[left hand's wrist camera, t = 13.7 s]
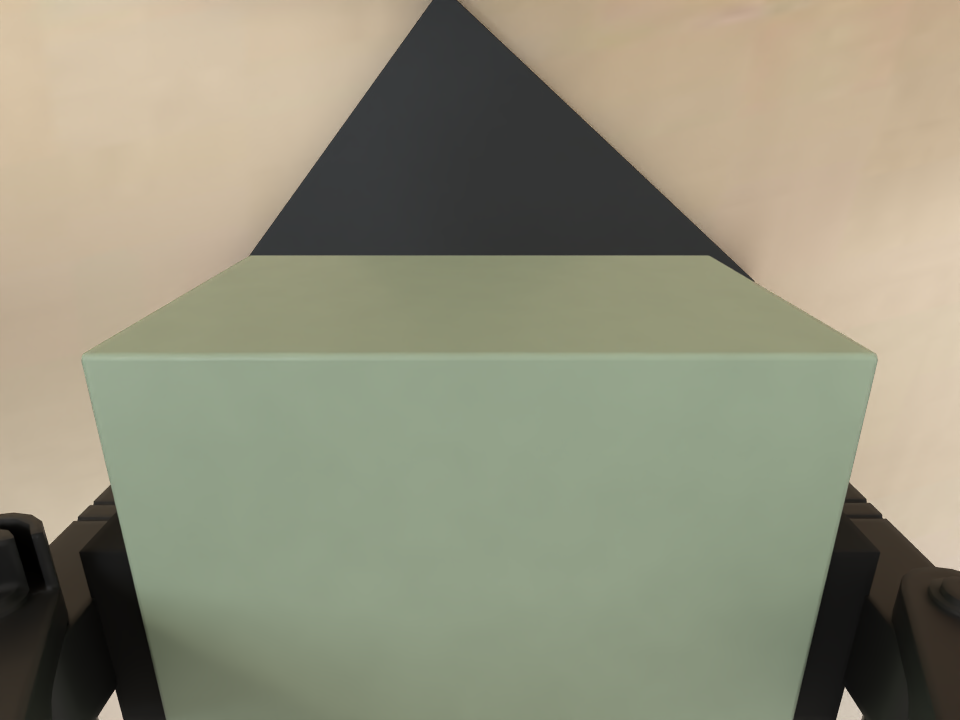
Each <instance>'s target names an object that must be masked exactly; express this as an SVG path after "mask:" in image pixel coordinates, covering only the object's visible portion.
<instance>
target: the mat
mask: <svg viewBox="0 0 960 720" xmlns="http://www.w3.org/2000/svg"><path fill="white" fill-rule="evenodd" d="M250 256H710V257H712V258H714V259H716V260H717V261H719V262H721V263H723V264H724V265H726V266H728V267H729V268H731V269H733V270H734V271H736V272H738V273H740V274H741V275H743V276H745V277H746V278H748V279H750V280H751V281H753V282H754V280H753V279H752V278H751V277H750V276H749V275H747V274H746V273H745V272H744V271H743V270H742V269H741V268H740V267H739V266H738V265H737V264H736V263H735V262H734V261H733V260H732V259H731V258H729V257H728V256H727V255H726V254H725V253H724V252H723V251H722V250H721V249H720V248H719V247H718V246H717V245H716V244H715V243H714V242H713V241H711V240H710V239H709V238H708V237H707V236H706V235H705V234H704V233H703V232H702V231H701V230H700V229H699V228H698V227H697V226H696V225H694V224H693V223H692V222H691V221H690V220H689V219H688V218H687V217H686V216H685V215H684V214H683V213H682V212H681V211H680V210H679V209H678V208H676V207H675V206H674V205H673V204H672V203H671V202H670V201H669V200H668V199H667V198H666V197H665V196H664V195H663V194H662V193H661V192H660V191H658V190H657V189H656V188H655V187H654V186H653V185H652V184H651V183H650V182H649V181H648V180H647V179H646V178H645V177H644V176H643V175H641V174H640V173H639V172H638V171H637V170H636V169H635V168H634V167H633V166H632V165H631V164H630V163H629V162H628V161H627V160H626V159H625V158H623V157H622V156H621V155H620V154H619V153H618V152H617V151H616V150H615V149H614V148H613V147H612V146H611V145H610V144H609V143H608V142H606V141H605V140H604V139H603V138H602V137H601V136H600V135H599V134H598V133H597V132H596V131H595V130H594V129H593V128H592V127H591V126H590V125H588V124H587V123H586V122H585V121H584V120H583V119H582V118H581V117H580V116H579V115H578V114H577V113H576V112H575V111H574V110H573V109H572V108H570V107H569V106H568V105H567V104H566V103H565V102H564V101H563V100H562V99H561V98H560V97H559V96H558V95H557V94H556V93H555V92H553V91H552V90H551V89H550V88H549V87H548V86H547V85H546V84H545V83H544V82H543V81H542V80H541V79H540V78H539V77H538V76H537V75H535V74H534V73H533V72H532V71H531V70H530V69H529V68H528V67H527V66H526V65H525V64H524V63H523V62H522V61H521V60H520V59H519V58H517V57H516V56H515V55H514V54H513V53H512V52H511V51H510V50H509V49H508V48H507V47H506V46H505V45H504V44H503V43H502V42H500V41H499V40H498V39H497V38H496V37H495V36H494V35H493V34H492V33H491V32H490V31H489V30H488V29H487V28H486V27H485V26H484V25H482V24H481V23H480V22H479V21H478V20H477V19H476V18H475V17H474V16H473V15H472V14H471V13H470V12H469V11H468V10H467V9H466V8H464V7H463V6H462V5H461V4H460V3H459V2H458V1H457V0H433V1H432V2H431V3H430V5H429V6H428V7H427V9H426V10H425V12H424V13H423V14H422V16H421V17H420V19H419V20H418V21H417V23H416V24H415V26H414V27H413V28H412V30H411V31H410V33H409V34H408V35H407V37H406V38H405V40H404V41H403V42H402V44H401V45H400V47H399V48H398V49H397V51H396V52H395V53H394V55H393V56H392V58H391V59H390V60H389V62H388V63H387V65H386V66H385V67H384V69H383V70H382V72H381V73H380V74H379V76H378V77H377V79H376V80H375V81H374V83H373V84H372V86H371V87H370V88H369V90H368V91H367V93H366V94H365V95H364V97H363V98H362V99H361V101H360V102H359V104H358V105H357V106H356V108H355V109H354V111H353V112H352V113H351V115H350V116H349V118H348V119H347V120H346V122H345V123H344V125H343V126H342V127H341V129H340V130H339V132H338V133H337V134H336V136H335V137H334V139H333V140H332V141H331V143H330V144H329V145H328V147H327V148H326V150H325V151H324V152H323V154H322V155H321V157H320V158H319V159H318V161H317V162H316V164H315V165H314V166H313V168H312V169H311V171H310V172H309V173H308V175H307V176H306V178H305V179H304V180H303V182H302V183H301V184H300V186H299V187H298V189H297V190H296V191H295V193H294V194H293V196H292V197H291V198H290V200H289V201H288V203H287V204H286V205H285V207H284V208H283V210H282V211H281V212H280V214H279V215H278V217H277V218H276V219H275V221H274V222H273V224H272V225H271V226H270V228H269V229H268V230H267V232H266V233H265V235H264V236H263V237H262V239H261V240H260V242H259V243H258V244H257V246H256V247H255V249H254V250H253V251H252V253H251V254H250Z"/></svg>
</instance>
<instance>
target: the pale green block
mask: <svg viewBox="0 0 960 720" xmlns="http://www.w3.org/2000/svg"><path fill="white" fill-rule="evenodd" d="M877 361H878V360H877V355H876V354H875V353H874V352H872V351H870V350H869V349H867V348H865V347H864V346H862V345H860V344H858V343H857V342H855V341H853V340H852V339H850V338H848V337H847V336H845V335H843V334H841V333H840V332H838V331H836V330H835V329H833V328H831V327H830V326H828V325H826V324H824V323H823V322H821V321H819V320H818V319H816V318H814V317H813V316H811V315H809V314H808V313H806V312H804V311H802V310H801V309H799V308H797V307H796V306H794V305H792V304H791V303H789V302H787V301H785V300H784V299H782V298H780V297H779V296H777V295H775V294H774V293H772V292H770V291H768V290H767V289H765V288H763V287H762V286H760V285H758V284H757V283H755V282H753V281H751V280H750V279H748V278H746V277H745V276H743V275H741V274H740V273H738V272H736V271H734V270H733V269H731V268H729V267H728V266H726V265H724V264H723V263H721V262H719V261H717V260H716V259H714V258H712V257H710V256H249V257H247V258H245V259H243V260H242V261H240V262H238V263H237V264H235V265H233V266H231V267H230V268H228V269H226V270H225V271H223V272H221V273H220V274H218V275H216V276H215V277H213V278H211V279H209V280H208V281H206V282H204V283H203V284H201V285H199V286H198V287H196V288H194V289H192V290H191V291H189V292H187V293H186V294H184V295H182V296H181V297H179V298H177V299H175V300H174V301H172V302H170V303H169V304H167V305H165V306H164V307H162V308H160V309H158V310H157V311H155V312H153V313H152V314H150V315H148V316H147V317H145V318H143V319H142V320H140V321H138V322H136V323H135V324H133V325H131V326H130V327H128V328H126V329H125V330H123V331H121V332H119V333H118V334H116V335H114V336H113V337H111V338H109V339H108V340H106V341H104V342H102V343H101V344H99V345H97V346H96V347H94V348H92V349H91V350H89V351H87V352H86V353H84V354H83V355H82V365H83V369H84V373H85V378H86V382H87V386H88V390H89V395H90V399H91V403H92V407H93V412H94V416H95V420H96V424H97V429H98V433H99V437H100V441H101V446H102V450H103V454H104V458H105V462H106V467H107V471H108V475H109V479H110V484H111V488H112V492H113V496H114V501H115V505H116V509H117V513H118V518H119V522H120V526H121V530H122V535H123V539H124V543H125V547H126V552H127V556H128V560H129V564H130V568H131V573H132V577H133V581H134V585H135V590H136V594H137V598H138V602H139V607H140V611H141V615H142V619H143V624H144V628H145V632H146V636H147V641H148V645H149V649H150V653H151V658H152V662H153V666H154V670H155V674H156V679H157V683H158V687H159V691H160V696H161V700H162V704H163V708H164V713H165V717H166V720H793V718H794V713H795V709H796V705H797V701H798V696H799V692H800V688H801V684H802V679H803V675H804V671H805V667H806V662H807V658H808V654H809V650H810V645H811V641H812V637H813V633H814V628H815V624H816V620H817V616H818V611H819V607H820V603H821V599H822V595H823V590H824V586H825V582H826V578H827V573H828V569H829V565H830V561H831V556H832V552H833V548H834V544H835V539H836V535H837V531H838V527H839V522H840V518H841V514H842V510H843V505H844V501H845V497H846V493H847V488H848V484H849V480H850V476H851V471H852V467H853V463H854V459H855V454H856V450H857V446H858V442H859V437H860V433H861V429H862V425H863V421H864V416H865V412H866V408H867V404H868V399H869V395H870V391H871V387H872V382H873V378H874V374H875V370H876V365H877Z"/></svg>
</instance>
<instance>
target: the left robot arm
mask: <svg viewBox="0 0 960 720" xmlns="http://www.w3.org/2000/svg"><path fill="white" fill-rule="evenodd" d="M844 688H846V689H847V691H848V692H849V694H850V695H851V697H852V698H853V700H854V701H855V703H856V705H857V706H858V708H859V709H860V711H861V712H862V714H863V716H862V719H861V720H960V571H957V570H953V569H947V568H939V567H935V566H934V565H933V564H932V563H931V562H930V561H929V560H928V559H927V558H926V557H925V556H924V555H923V554H922V553H921V552H920V551H919V550H918V549H917V548H916V547H915V546H914V545H913V544H912V543H911V542H910V541H909V540H908V539H906V538H905V537H904V536H903V535H902V534H901V533H900V532H899V531H898V530H897V529H896V528H895V527H894V526H893V525H892V524H891V523H890V522H889V521H888V520H887V519H883V518H882V514H881V513H880V512H879V511H878V510H877V509H876V508H875V507H874V506H873V505H872V504H871V503H867V502H866V498H865V497H864V496H863V495H862V494H861V493H859V492H858V491H857V490H856V489H855V488H854V487H853V486H852V485H851V484H850V483H849V484H848V488H847V493H846V497H845V501H844V505H843V510H842V514H841V518H840V522H839V527H838V531H837V535H836V539H835V544H834V548H833V552H832V556H831V561H830V565H829V569H828V573H827V578H826V582H825V586H824V590H823V595H822V599H821V603H820V607H819V611H818V616H817V620H816V624H815V628H814V633H813V637H812V641H811V645H810V650H809V654H808V658H807V662H806V667H805V671H804V675H803V679H802V684H801V688H800V692H799V696H798V701H797V705H796V709H795V713H794V718H793V720H836V718H837V714H838V710H839V706H840V703H841V699H842V695H843V691H844ZM115 689H116V693H117V697H118V701H119V704H120V708H121V712H122V716H123V719H124V720H166V717H165V713H164V708H163V704H162V700H161V696H160V691H159V687H158V683H157V679H156V674H155V670H154V666H153V662H152V658H151V653H150V649H149V645H148V641H147V636H146V632H145V628H144V624H143V619H142V615H141V611H140V607H139V602H138V598H137V594H136V590H135V585H134V581H133V577H132V573H131V568H130V564H129V560H128V556H127V552H126V547H125V543H124V539H123V535H122V530H121V526H120V522H119V518H118V513H117V509H116V505H115V501H114V496H113V492H112V488H111V485H110V486H109V487H108V488H107V489H106V490H105V491H104V492H103V493H102V494H101V495H100V496H99V497H98V498H97V499H96V500H95V501H94V504H93V505H90V506H89V507H88V508H87V509H86V510H85V511H84V512H83V513H82V514H81V515H80V516H79V517H78V521H73V522H72V523H71V524H70V525H69V526H68V527H67V528H66V529H65V530H64V531H63V532H62V533H61V534H60V535H59V536H58V537H57V538H56V539H55V540H54V541H53V542H52V543H51V544H50V545H49V544H48V541H47V537H46V534H45V530H44V527H43V523H42V521H41V520H39V519H37V518H36V517H34V516H33V515H29V514H20V513H7V514H0V720H99V719H98V715H99V714H100V712H101V710H102V709H103V707H104V706H105V704H106V703H107V701H108V700H109V698H110V696H111V695H112V693H113V692H114V690H115Z"/></svg>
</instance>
